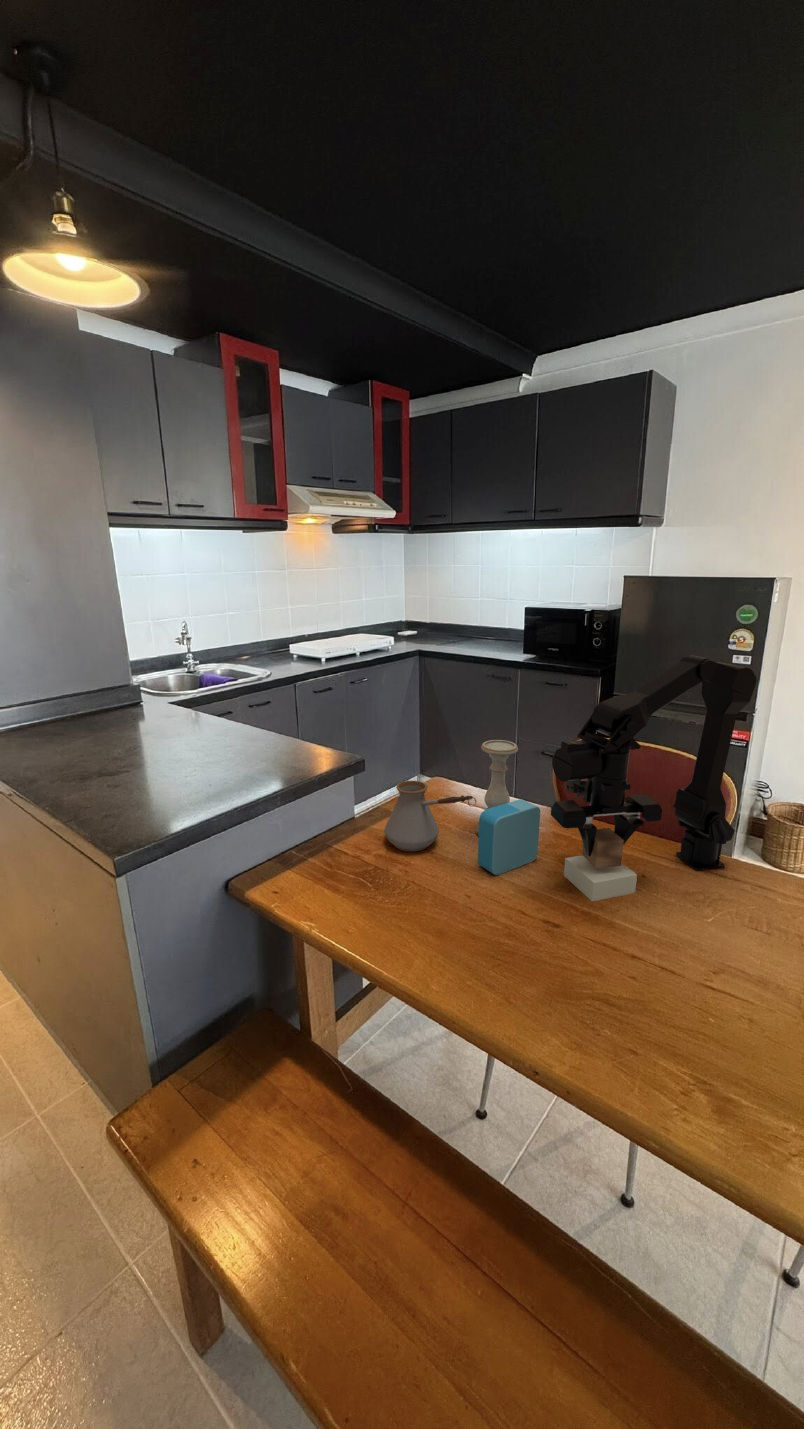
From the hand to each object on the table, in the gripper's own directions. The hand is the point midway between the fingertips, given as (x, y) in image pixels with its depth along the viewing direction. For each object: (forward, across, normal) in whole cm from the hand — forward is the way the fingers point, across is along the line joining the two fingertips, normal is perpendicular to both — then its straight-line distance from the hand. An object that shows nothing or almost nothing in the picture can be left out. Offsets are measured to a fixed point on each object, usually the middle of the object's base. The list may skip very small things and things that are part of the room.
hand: (601, 853), depth 107 cm
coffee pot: (+6, +28, -18) cm, 34 cm away
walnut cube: (+1, 0, 0) cm, 1 cm away
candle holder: (+6, +12, -23) cm, 27 cm away
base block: (+7, 0, 0) cm, 7 cm away
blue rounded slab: (+6, +14, -10) cm, 18 cm away
